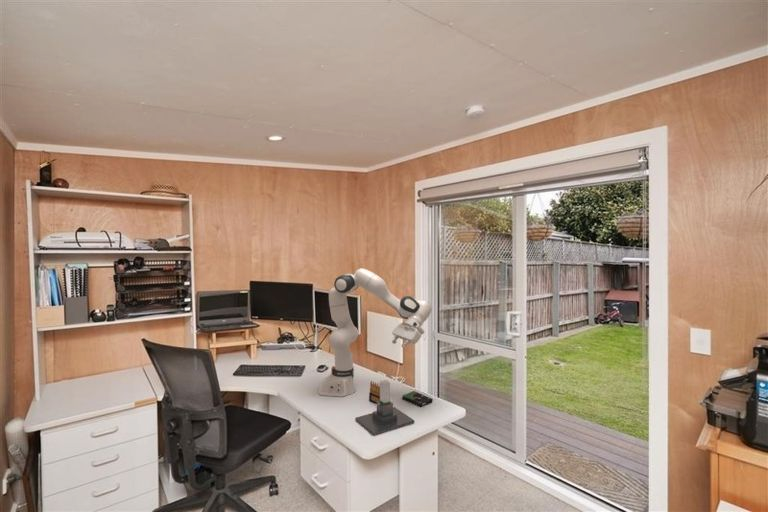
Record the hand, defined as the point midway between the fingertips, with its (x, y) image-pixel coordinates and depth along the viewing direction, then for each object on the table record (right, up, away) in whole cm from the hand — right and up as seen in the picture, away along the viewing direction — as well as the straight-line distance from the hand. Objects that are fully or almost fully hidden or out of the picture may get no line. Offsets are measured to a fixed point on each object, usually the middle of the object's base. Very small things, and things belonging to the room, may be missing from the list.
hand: (397, 345), depth 206 cm
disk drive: (+11, -35, +9) cm, 38 cm away
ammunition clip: (-12, -34, +5) cm, 37 cm away
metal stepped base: (-7, -35, -17) cm, 39 cm away
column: (-7, -29, -17) cm, 34 cm away
